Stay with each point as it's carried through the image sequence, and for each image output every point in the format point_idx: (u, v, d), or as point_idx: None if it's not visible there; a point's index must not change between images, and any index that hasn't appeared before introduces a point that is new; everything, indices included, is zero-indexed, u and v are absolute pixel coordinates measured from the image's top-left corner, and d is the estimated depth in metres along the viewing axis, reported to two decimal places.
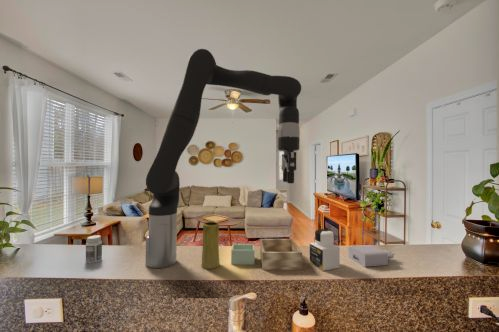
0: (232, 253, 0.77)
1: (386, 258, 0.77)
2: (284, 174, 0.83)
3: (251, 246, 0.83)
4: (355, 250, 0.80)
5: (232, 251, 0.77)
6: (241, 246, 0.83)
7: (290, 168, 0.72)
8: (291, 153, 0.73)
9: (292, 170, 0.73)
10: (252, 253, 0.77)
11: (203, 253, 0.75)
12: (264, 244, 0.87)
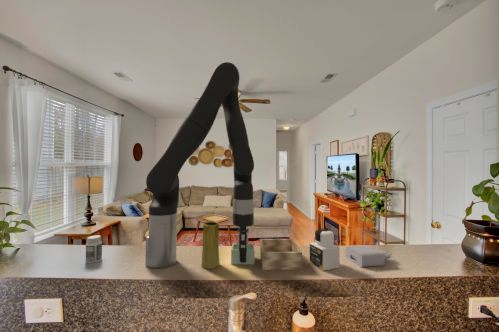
0: (232, 253, 0.77)
1: (383, 258, 0.77)
2: None
3: (251, 246, 0.83)
4: (352, 250, 0.80)
5: (231, 250, 0.77)
6: (241, 246, 0.83)
7: (240, 250, 0.74)
8: (241, 236, 0.74)
9: (243, 251, 0.75)
10: (252, 252, 0.77)
11: (203, 253, 0.75)
12: (264, 244, 0.87)
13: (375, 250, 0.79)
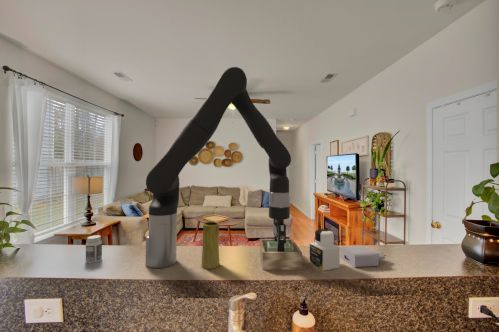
0: (269, 250, 0.77)
1: (377, 259, 0.76)
2: (275, 238, 0.85)
3: (286, 243, 0.83)
4: (346, 250, 0.80)
5: (269, 248, 0.77)
6: (276, 243, 0.83)
7: (280, 242, 0.74)
8: (281, 227, 0.74)
9: (282, 243, 0.74)
10: (289, 250, 0.78)
11: (203, 253, 0.75)
12: (264, 244, 0.87)
13: (369, 250, 0.78)
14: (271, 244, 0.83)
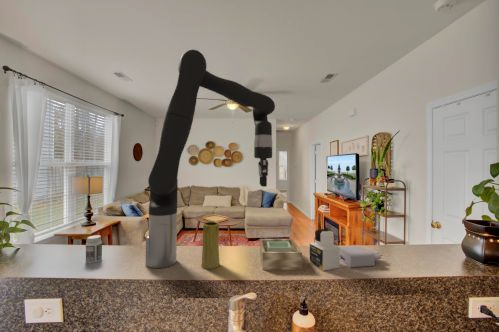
0: (269, 250, 0.77)
1: (372, 259, 0.76)
2: (260, 178, 0.97)
3: (286, 243, 0.83)
4: (342, 250, 0.80)
5: (269, 248, 0.77)
6: (276, 243, 0.83)
7: (262, 174, 0.86)
8: (263, 161, 0.86)
9: (264, 175, 0.87)
10: (289, 250, 0.78)
11: (203, 253, 0.75)
12: (264, 244, 0.87)
13: (365, 250, 0.78)
14: (271, 244, 0.83)
